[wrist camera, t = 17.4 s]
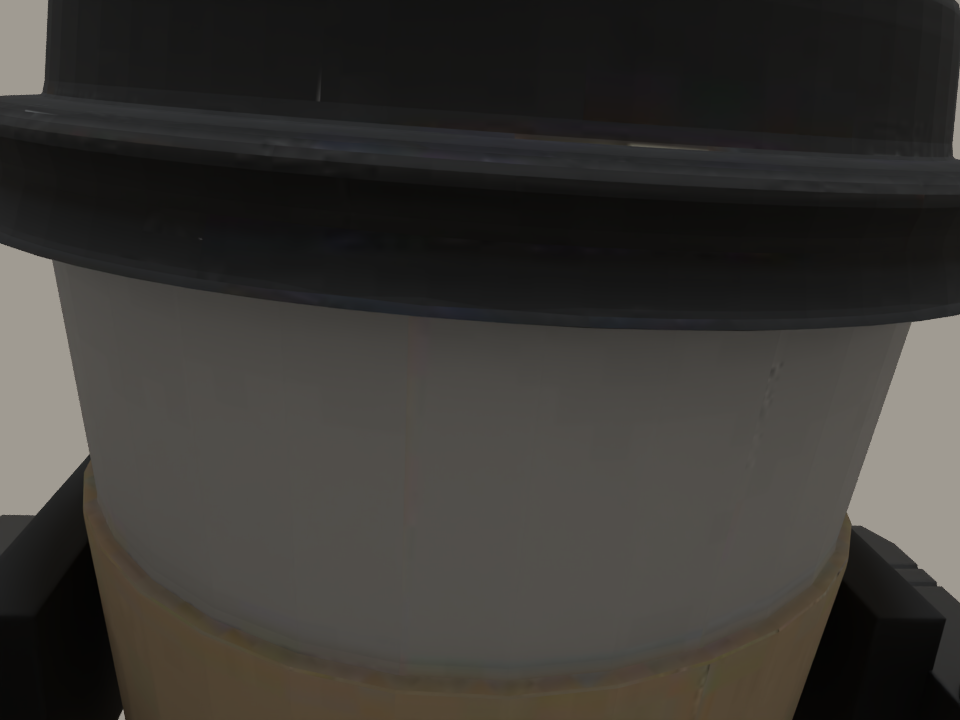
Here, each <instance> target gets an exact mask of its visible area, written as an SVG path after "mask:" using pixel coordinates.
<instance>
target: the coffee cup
mask: <svg viewBox="0 0 960 720" xmlns="http://www.w3.org/2000/svg"><path fill="white" fill-rule="evenodd" d="M959 68H960V8H959V4H958V3H957V2H956V1H955V0H48V19H47V41H46V64H45V81H44V87H43V92H42V94H38V95H10V96H0V243H1V244H4V245H7V246H10V247H13V248H16V249H19V250H22V251H25V252H28V253H31V254H34V255H37V256H40V257H44V258H48V259H52V261H53V266H54V271H55V276H56V282H57V287H58V292H59V297H60V302H61V308H62V313H63V318H64V323H65V328H66V333H67V339H68V344H69V349H70V354H71V359H72V364H73V370H74V375H75V380H76V384H77V390H78V396H79V401H80V406H81V411H82V416H83V421H84V426H85V432H86V437H87V442H88V447H89V452H90V458H91V460H90V462H89V464H88V466H87V468H86V469H85V472H84V488H83V513H84V520H85V525H86V530H87V534H88V539H89V544H90V549H91V554H92V559H93V564H94V569H95V573H96V578H97V583H98V588H99V593H100V598H101V603H102V608H103V612H104V617H105V622H106V627H107V632H108V637H109V642H110V647H111V651H112V656H113V661H114V666H115V671H116V676H117V681H118V686H119V690H120V695H121V700H122V705H123V710H124V715H125V720H792V719H793V716H794V713H795V710H796V707H797V704H798V702H799V699H800V696H801V693H802V690H803V688H804V685H805V682H806V679H807V676H808V674H809V671H810V668H811V665H812V662H813V659H814V657H815V654H816V651H817V648H818V645H819V643H820V640H821V637H822V634H823V631H824V629H825V626H826V623H827V620H828V617H829V614H830V612H831V609H832V606H833V603H834V600H835V598H836V595H837V592H838V589H839V586H840V584H841V581H842V578H843V575H844V572H845V569H846V566H847V562H848V557H849V547H850V536H851V526H852V525H851V522H850V519H849V517H848V515H847V509H848V506H849V503H850V500H851V497H852V494H853V491H854V489H855V486H856V483H857V480H858V477H859V474H860V471H861V468H862V465H863V462H864V459H865V456H866V454H867V450H868V448H869V445H870V442H871V439H872V436H873V433H874V430H875V427H876V424H877V421H878V419H879V416H880V413H881V410H882V407H883V404H884V401H885V398H886V395H887V392H888V389H889V386H890V383H891V381H892V378H893V375H894V372H895V369H896V366H897V363H898V360H899V357H900V354H901V351H902V348H903V345H904V343H905V340H906V336H907V334H908V331H909V328H910V325H911V322H915V321H923V320H930V319H936V318H942V317H948V316H954V315H959V314H960V160H958V159H955V158H954V157H953V150H952V141H953V131H954V121H955V110H956V100H957V90H958V79H959Z"/></svg>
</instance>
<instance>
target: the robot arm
mask: <svg viewBox="0 0 960 720" xmlns="http://www.w3.org/2000/svg"><path fill="white" fill-rule="evenodd" d="M90 460H91V458H90V454H89V456H88V457H87V458H86V459H85V460H84V461H83V463H82V464H81V465H80V466H79V467H78V468H77V469H76V470H75V472H74V473H73V474H72V475H71V476H70V477H69V478H68V480H67V481H66V482H65V483H64V484H63V485H62V486H61V488H60V489H59V490H58V491H57V492H56V493H55V494H54V495H53V496H52V498H51V499H50V500H49V501H48V502H47V503H46V504H45V506H44V507H43V508H42V509H41V510H40V511H39V512H38V514H37V515H36V516H33V515H32V516H30V515H2V516H0V720H118V719H119V716H120V714H121V712H122V710H123V705H122V700H121V695H120V690H119V686H118V681H117V676H116V671H115V666H114V661H113V656H112V651H111V647H110V642H109V637H108V632H107V627H106V622H105V617H104V612H103V608H102V603H101V598H100V593H99V588H98V583H97V578H96V573H95V569H94V564H93V559H92V554H91V549H90V544H89V539H88V534H87V530H86V525H85V520H84V513H83V488H84V472H85V469H86V468H87V466H88V464H89V462H90ZM792 720H960V603H959V602H958V601H957V600H956V599H955V598H954V597H953V596H952V595H950V594H949V593H948V592H947V591H946V590H945V589H944V588H943V587H937V582H936V581H935V580H934V579H933V578H932V577H930V576H929V575H928V574H927V573H926V572H925V571H924V570H923V569H918V567H917V564H916V563H915V562H914V561H913V560H912V559H910V558H909V557H908V556H907V555H906V554H905V553H904V552H903V551H902V550H901V549H899V548H898V547H897V546H896V545H895V544H894V543H892V542H890V541H888V540H886V539H884V538H883V537H881V536H879V535H877V534H875V533H873V532H871V531H870V530H868V529H866V528H864V527H862V526H851V536H850V547H849V557H848V562H847V566H846V569H845V572H844V575H843V578H842V581H841V584H840V586H839V589H838V592H837V595H836V598H835V600H834V603H833V606H832V609H831V612H830V614H829V617H828V620H827V623H826V626H825V629H824V631H823V634H822V637H821V640H820V643H819V645H818V648H817V651H816V654H815V657H814V659H813V662H812V665H811V668H810V671H809V674H808V676H807V679H806V682H805V685H804V688H803V690H802V693H801V696H800V699H799V702H798V704H797V707H796V710H795V713H794V716H793V719H792Z"/></svg>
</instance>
